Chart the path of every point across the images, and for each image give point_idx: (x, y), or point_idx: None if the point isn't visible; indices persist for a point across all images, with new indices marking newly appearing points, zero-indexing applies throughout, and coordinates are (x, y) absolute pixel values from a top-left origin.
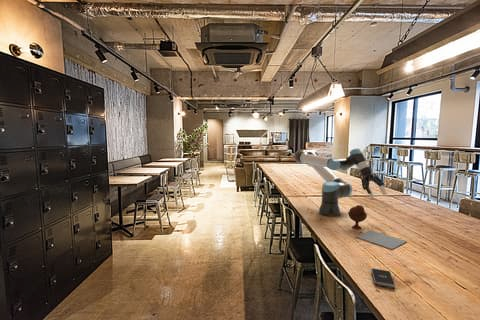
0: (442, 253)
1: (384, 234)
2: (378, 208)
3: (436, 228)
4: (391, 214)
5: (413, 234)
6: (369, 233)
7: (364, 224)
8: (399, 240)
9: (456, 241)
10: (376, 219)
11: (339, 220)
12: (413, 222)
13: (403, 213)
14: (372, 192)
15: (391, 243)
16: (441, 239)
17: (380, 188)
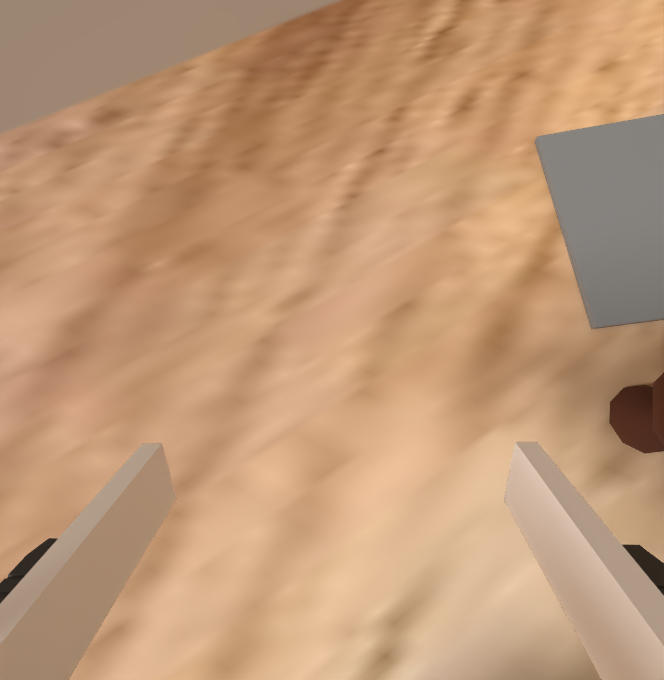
0: (501, 22)
1: (573, 242)
2: None
3: (174, 195)
4: None
5: (386, 191)
6: (661, 291)
7: None
8: (570, 155)
9: (294, 71)
10: (323, 472)
11: None
12: (168, 308)
13: (9, 458)
14: (579, 522)
15: (657, 145)
16: (328, 104)
17: (76, 641)
